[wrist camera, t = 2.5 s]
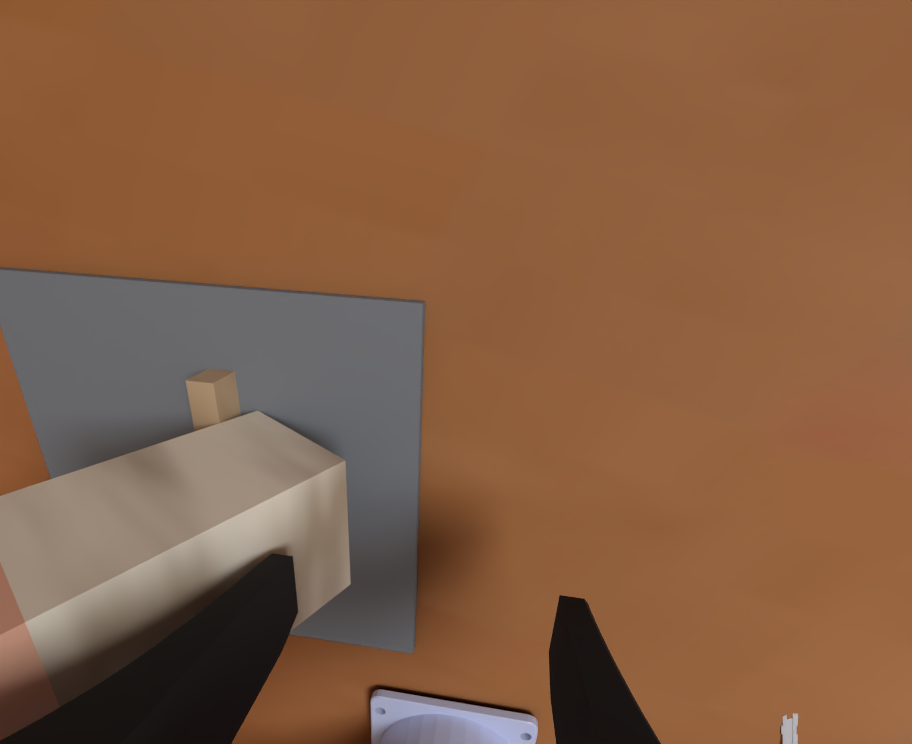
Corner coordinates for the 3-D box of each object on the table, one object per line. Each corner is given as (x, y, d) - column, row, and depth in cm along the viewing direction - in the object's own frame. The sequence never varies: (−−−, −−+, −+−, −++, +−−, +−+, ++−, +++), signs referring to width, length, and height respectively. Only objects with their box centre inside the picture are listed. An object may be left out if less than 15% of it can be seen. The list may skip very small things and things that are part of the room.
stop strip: (258, 546, 18) (242, 568, 17) (236, 543, 18) (219, 564, 17) (234, 370, 15) (213, 383, 14) (208, 368, 16) (185, 380, 14)
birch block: (350, 583, 15) (45, 824, 9) (270, 520, 18) (-4, 669, 12) (345, 460, 13) (-41, 655, 7) (257, 410, 16) (-74, 520, 10)
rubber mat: (414, 645, 20) (413, 654, 19) (98, 595, 21) (91, 602, 21) (424, 300, 14) (422, 303, 14) (-6, 266, 16) (-19, 268, 15)
